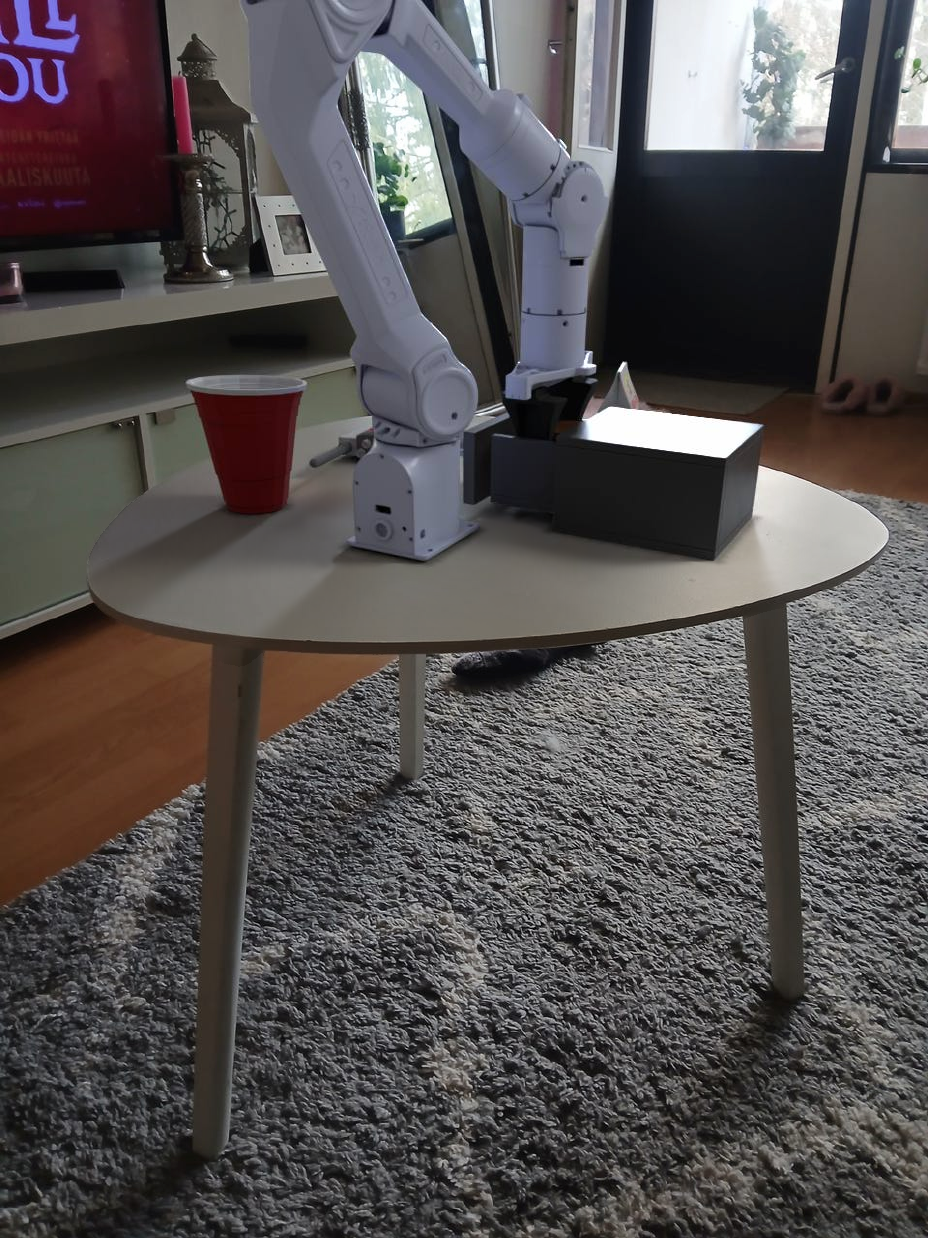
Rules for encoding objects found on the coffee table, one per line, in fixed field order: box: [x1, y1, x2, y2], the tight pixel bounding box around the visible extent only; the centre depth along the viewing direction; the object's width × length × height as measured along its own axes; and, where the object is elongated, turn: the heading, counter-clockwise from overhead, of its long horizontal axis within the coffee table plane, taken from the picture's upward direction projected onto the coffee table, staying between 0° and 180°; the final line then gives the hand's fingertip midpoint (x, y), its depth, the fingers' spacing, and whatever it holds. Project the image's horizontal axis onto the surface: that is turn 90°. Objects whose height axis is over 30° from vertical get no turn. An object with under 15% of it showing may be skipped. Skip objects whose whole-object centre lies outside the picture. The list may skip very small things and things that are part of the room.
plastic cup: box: [185, 374, 308, 515], centre depth 90 cm, size 11×11×12 cm
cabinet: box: [551, 407, 765, 561], centre depth 86 cm, size 15×13×9 cm
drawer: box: [460, 411, 588, 514], centre depth 91 cm, size 18×11×7 cm, turn 61°
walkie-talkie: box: [308, 426, 374, 469], centre depth 107 cm, size 9×4×20 cm
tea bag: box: [597, 361, 639, 414], centre depth 105 cm, size 4×7×10 cm, turn 166°
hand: (548, 462), depth 91 cm, fingers closed on block, 5 cm apart
